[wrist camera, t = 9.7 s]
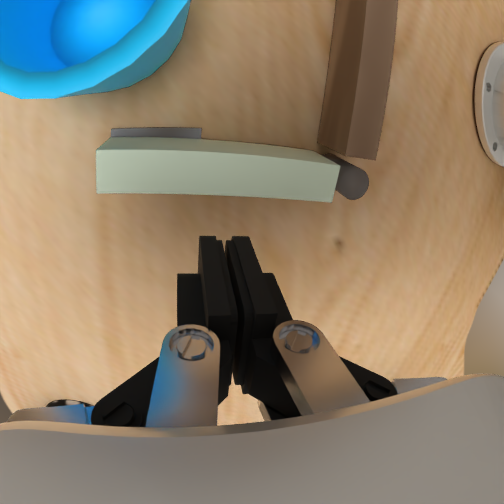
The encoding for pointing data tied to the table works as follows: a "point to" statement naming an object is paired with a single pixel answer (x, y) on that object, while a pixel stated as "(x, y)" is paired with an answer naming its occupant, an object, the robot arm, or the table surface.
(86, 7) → the mug
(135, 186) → the leg
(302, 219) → the table surface
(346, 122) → the dock
